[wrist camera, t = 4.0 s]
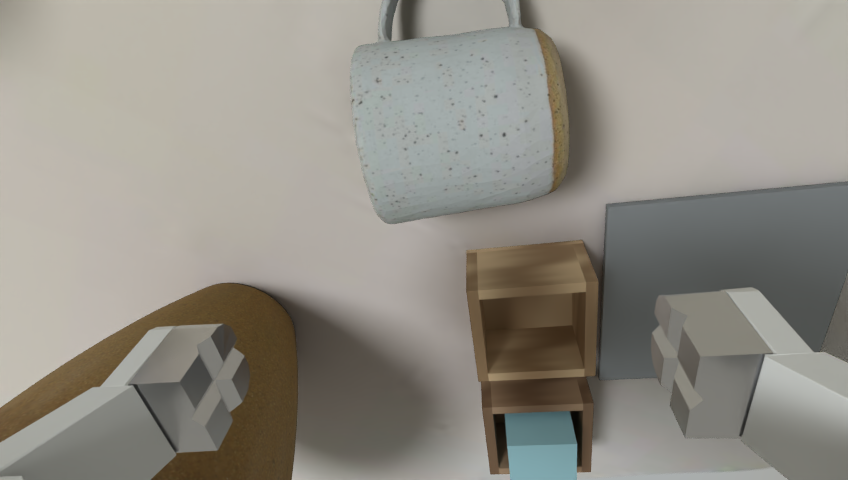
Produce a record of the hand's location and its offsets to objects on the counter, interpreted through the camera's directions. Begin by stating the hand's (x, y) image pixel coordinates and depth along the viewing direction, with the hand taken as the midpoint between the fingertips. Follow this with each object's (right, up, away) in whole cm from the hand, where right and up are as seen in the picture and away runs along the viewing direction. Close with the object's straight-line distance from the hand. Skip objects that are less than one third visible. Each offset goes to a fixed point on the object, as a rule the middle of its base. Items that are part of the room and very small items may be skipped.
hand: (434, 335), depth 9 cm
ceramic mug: (+1, +10, +14) cm, 17 cm away
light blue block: (+7, -9, +24) cm, 27 cm away
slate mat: (+17, -1, +19) cm, 26 cm away
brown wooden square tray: (+7, -9, +25) cm, 28 cm away
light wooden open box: (+6, -1, +20) cm, 21 cm away
